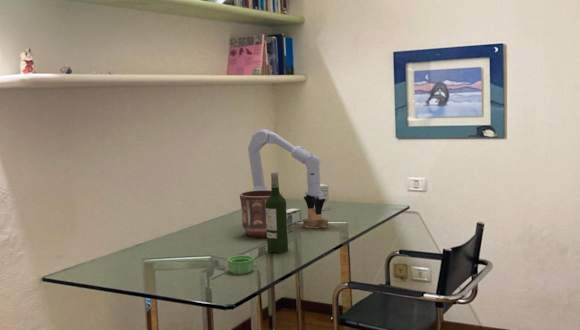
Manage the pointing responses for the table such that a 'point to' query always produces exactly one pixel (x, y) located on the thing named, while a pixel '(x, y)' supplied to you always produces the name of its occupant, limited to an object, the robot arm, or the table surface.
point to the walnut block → (315, 223)
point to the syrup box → (293, 216)
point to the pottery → (255, 212)
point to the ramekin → (240, 264)
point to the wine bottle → (276, 219)
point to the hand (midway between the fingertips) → (314, 212)
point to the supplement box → (325, 196)
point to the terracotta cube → (313, 215)
